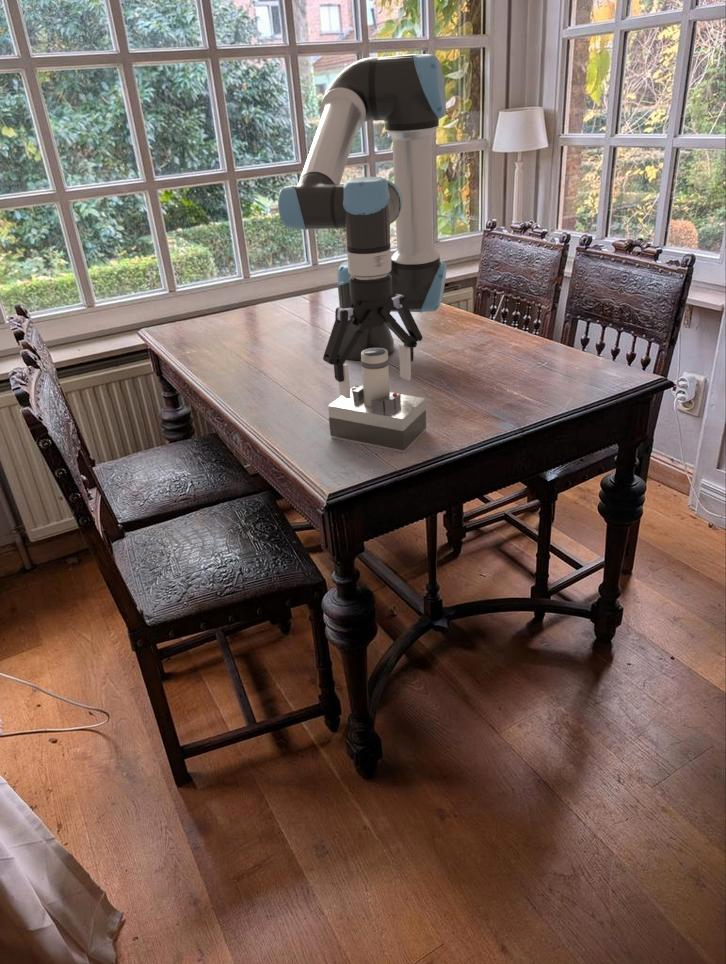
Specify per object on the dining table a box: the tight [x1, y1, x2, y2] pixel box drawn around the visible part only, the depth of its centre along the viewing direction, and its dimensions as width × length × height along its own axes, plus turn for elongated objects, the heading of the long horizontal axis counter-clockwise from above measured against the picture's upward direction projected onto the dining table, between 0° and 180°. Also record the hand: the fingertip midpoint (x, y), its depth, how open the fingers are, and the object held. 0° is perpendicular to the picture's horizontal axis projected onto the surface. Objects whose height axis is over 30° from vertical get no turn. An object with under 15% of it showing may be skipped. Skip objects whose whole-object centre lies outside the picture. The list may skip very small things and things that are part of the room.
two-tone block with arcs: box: [327, 384, 427, 454], centre depth 133 cm, size 16×10×10 cm, turn 61°
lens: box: [360, 348, 391, 407], centre depth 129 cm, size 5×5×10 cm
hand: (376, 387), depth 130 cm, fingers open, 13 cm apart
